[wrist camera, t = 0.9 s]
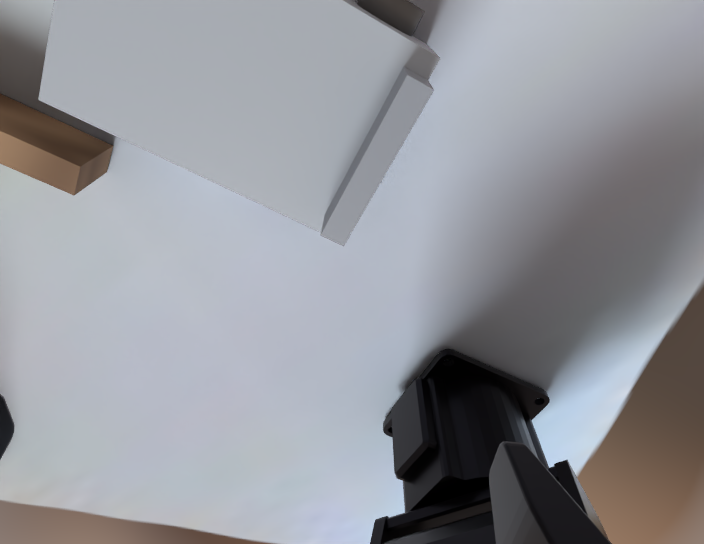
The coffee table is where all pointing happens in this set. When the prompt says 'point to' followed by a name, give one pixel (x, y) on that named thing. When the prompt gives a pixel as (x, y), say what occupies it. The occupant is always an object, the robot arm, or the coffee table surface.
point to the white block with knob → (250, 92)
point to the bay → (49, 148)
